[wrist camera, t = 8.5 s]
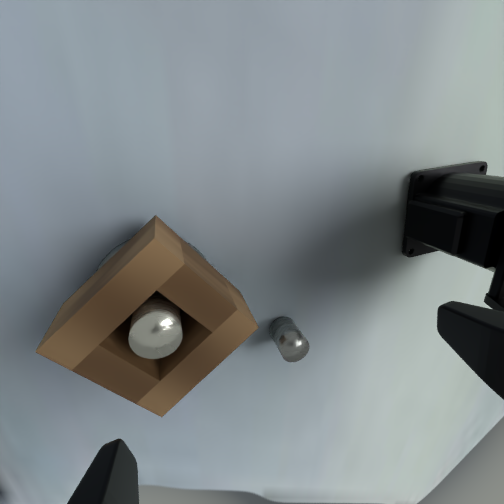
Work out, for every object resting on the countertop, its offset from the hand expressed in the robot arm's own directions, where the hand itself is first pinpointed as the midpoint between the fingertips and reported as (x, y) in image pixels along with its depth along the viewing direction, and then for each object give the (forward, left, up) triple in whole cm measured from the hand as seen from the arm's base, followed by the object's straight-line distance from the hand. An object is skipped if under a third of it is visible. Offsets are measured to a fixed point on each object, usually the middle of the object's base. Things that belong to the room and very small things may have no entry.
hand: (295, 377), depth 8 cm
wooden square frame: (+4, +2, -11) cm, 12 cm away
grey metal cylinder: (-4, +8, -12) cm, 15 cm away
